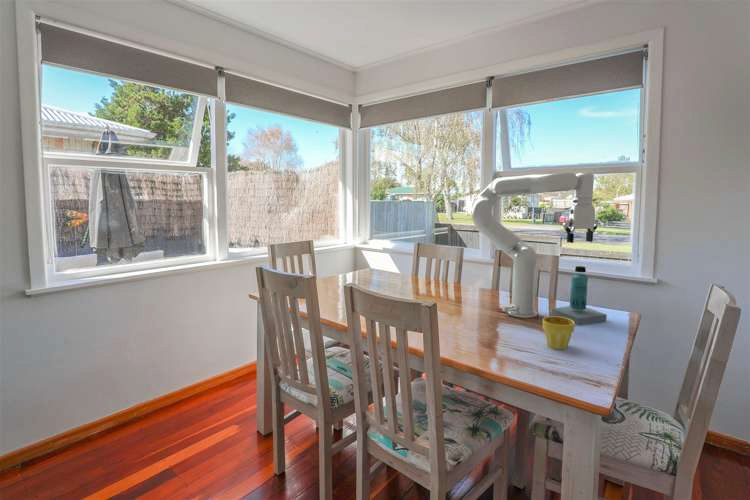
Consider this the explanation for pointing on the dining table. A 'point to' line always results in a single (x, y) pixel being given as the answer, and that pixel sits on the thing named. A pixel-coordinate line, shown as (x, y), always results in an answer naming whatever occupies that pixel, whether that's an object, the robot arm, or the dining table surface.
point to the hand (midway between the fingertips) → (579, 241)
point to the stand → (580, 315)
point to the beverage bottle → (579, 289)
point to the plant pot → (558, 331)
